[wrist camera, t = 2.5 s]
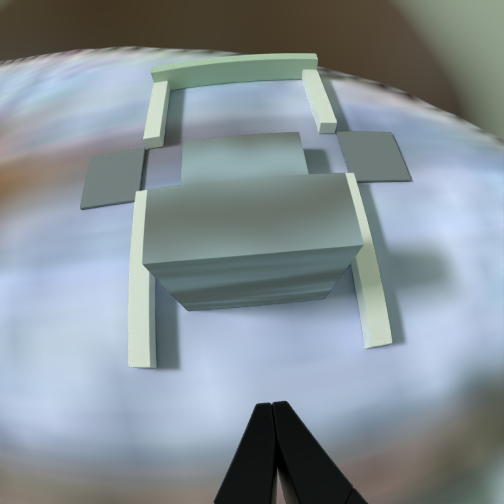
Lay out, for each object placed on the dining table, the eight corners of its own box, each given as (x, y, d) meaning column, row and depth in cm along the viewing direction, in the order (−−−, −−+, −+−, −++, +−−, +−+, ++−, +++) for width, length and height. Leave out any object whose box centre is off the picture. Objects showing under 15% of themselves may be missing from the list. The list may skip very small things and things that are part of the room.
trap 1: (409, 181, 27) (410, 179, 27) (351, 182, 27) (352, 180, 27) (390, 134, 29) (391, 132, 29) (336, 133, 29) (336, 131, 29)
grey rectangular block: (323, 299, 23) (363, 244, 14) (187, 311, 23) (142, 264, 14) (296, 150, 29) (307, 62, 19) (188, 159, 28) (164, 74, 19)
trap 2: (139, 201, 27) (138, 199, 26) (81, 209, 27) (79, 208, 26) (145, 149, 29) (144, 147, 29) (91, 159, 29) (90, 157, 29)
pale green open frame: (384, 345, 21) (401, 339, 19) (136, 367, 21) (119, 365, 18) (312, 73, 33) (315, 53, 30) (158, 86, 33) (152, 67, 30)
